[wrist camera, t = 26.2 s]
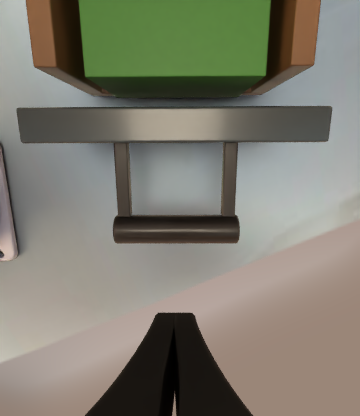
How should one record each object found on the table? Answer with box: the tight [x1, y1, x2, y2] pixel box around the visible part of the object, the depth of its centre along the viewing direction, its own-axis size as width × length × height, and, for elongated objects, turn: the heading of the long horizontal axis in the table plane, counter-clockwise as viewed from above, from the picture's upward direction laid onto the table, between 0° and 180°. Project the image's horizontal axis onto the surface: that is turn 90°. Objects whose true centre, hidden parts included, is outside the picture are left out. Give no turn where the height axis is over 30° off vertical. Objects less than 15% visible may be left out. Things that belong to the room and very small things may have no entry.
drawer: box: [17, 0, 332, 243], centre depth 12 cm, size 18×11×7 cm, turn 0°
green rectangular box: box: [79, 0, 271, 98], centre depth 12 cm, size 6×4×5 cm, turn 90°
